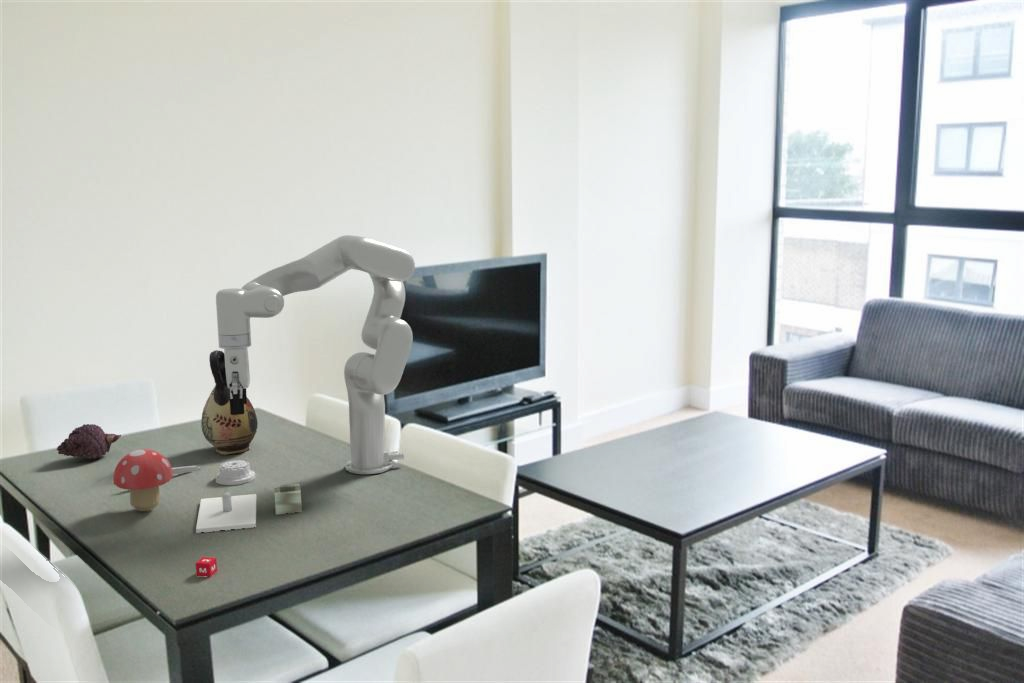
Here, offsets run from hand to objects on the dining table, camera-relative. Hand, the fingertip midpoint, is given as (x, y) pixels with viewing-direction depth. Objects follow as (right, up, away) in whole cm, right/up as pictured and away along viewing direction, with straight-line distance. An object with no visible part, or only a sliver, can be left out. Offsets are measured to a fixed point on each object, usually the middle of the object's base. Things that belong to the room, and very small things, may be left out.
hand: (238, 409), depth 234 cm
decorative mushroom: (-21, -24, -4) cm, 32 cm away
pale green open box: (+13, -24, -4) cm, 27 cm away
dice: (+5, -31, -39) cm, 50 cm away
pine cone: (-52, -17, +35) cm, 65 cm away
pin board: (-1, -24, -7) cm, 26 cm away
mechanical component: (-6, -20, +18) cm, 27 cm away
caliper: (-24, -20, +18) cm, 36 cm away
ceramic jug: (-15, -15, +42) cm, 47 cm away
